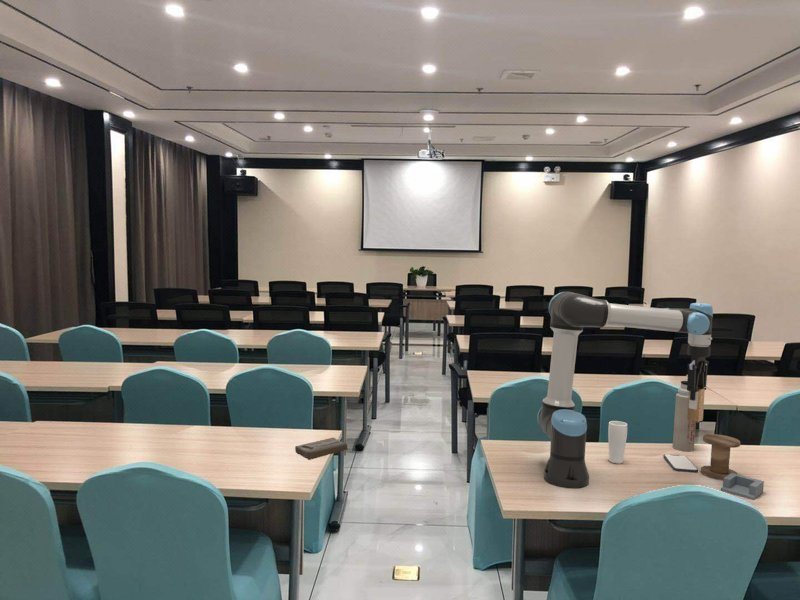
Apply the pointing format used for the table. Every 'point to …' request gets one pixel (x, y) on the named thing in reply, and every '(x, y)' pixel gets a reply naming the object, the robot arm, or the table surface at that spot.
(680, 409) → the thermos bottle
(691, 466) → the smartphone
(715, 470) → the bobbin
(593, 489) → the table surface
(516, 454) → the table surface
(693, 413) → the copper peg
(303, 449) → the box
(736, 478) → the grey slotted holder
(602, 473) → the table surface
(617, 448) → the drinking glass
